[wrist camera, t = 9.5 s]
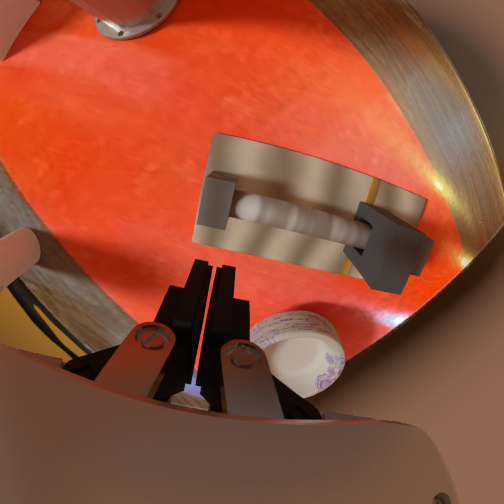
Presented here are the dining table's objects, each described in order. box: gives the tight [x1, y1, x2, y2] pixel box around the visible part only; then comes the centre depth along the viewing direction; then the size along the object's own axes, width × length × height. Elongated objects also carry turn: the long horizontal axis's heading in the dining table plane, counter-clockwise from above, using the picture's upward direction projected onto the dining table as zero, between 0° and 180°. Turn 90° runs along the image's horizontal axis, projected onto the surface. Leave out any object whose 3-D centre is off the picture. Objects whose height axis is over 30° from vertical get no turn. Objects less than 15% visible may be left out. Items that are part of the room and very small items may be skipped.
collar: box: [343, 201, 426, 295], centre depth 29 cm, size 4×7×10 cm, turn 166°
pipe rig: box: [192, 133, 434, 279], centre depth 31 cm, size 30×14×7 cm, turn 76°
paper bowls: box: [250, 310, 346, 398], centre depth 38 cm, size 15×15×8 cm
